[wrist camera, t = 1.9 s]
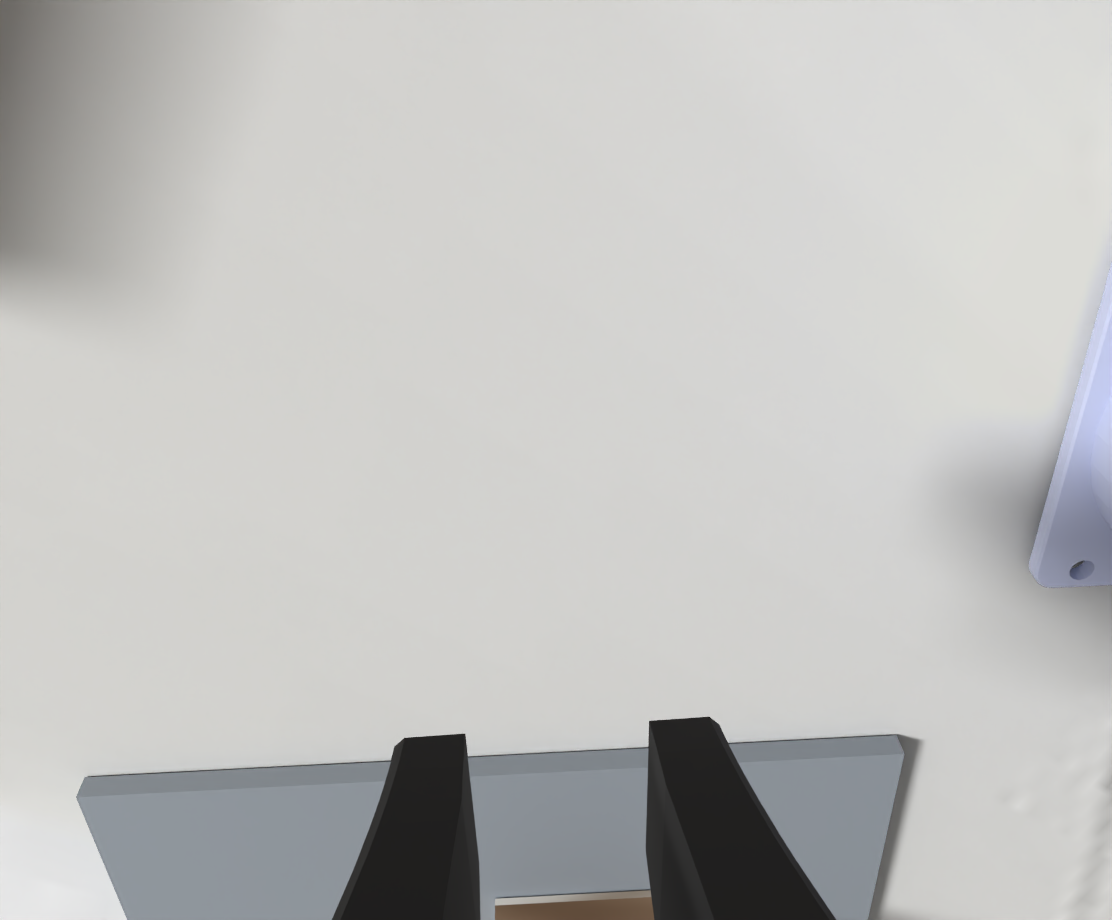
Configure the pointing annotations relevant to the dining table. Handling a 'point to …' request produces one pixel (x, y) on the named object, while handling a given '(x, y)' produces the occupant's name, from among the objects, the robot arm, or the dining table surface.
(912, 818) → the dining table surface
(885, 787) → the light grey mat
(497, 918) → the walnut block
